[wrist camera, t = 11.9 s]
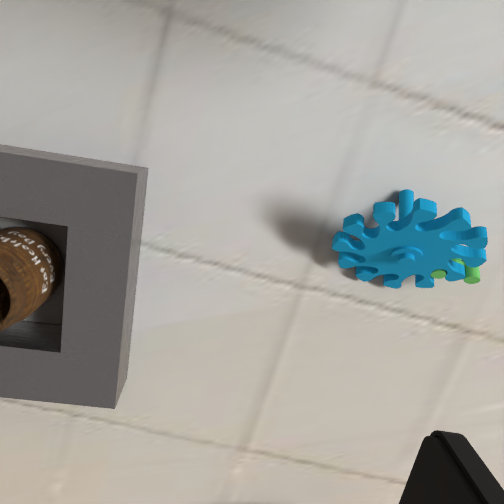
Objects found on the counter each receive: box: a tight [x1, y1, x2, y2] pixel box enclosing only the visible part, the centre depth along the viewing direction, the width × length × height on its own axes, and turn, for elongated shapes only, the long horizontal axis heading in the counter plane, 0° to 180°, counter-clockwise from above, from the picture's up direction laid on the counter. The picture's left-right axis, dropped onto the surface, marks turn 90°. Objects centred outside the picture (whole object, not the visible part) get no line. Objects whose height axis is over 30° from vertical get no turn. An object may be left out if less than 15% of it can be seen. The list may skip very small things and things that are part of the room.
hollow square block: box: [0, 144, 148, 409], centre depth 30 cm, size 17×17×4 cm
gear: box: [332, 190, 488, 288], centre depth 31 cm, size 11×6×10 cm
